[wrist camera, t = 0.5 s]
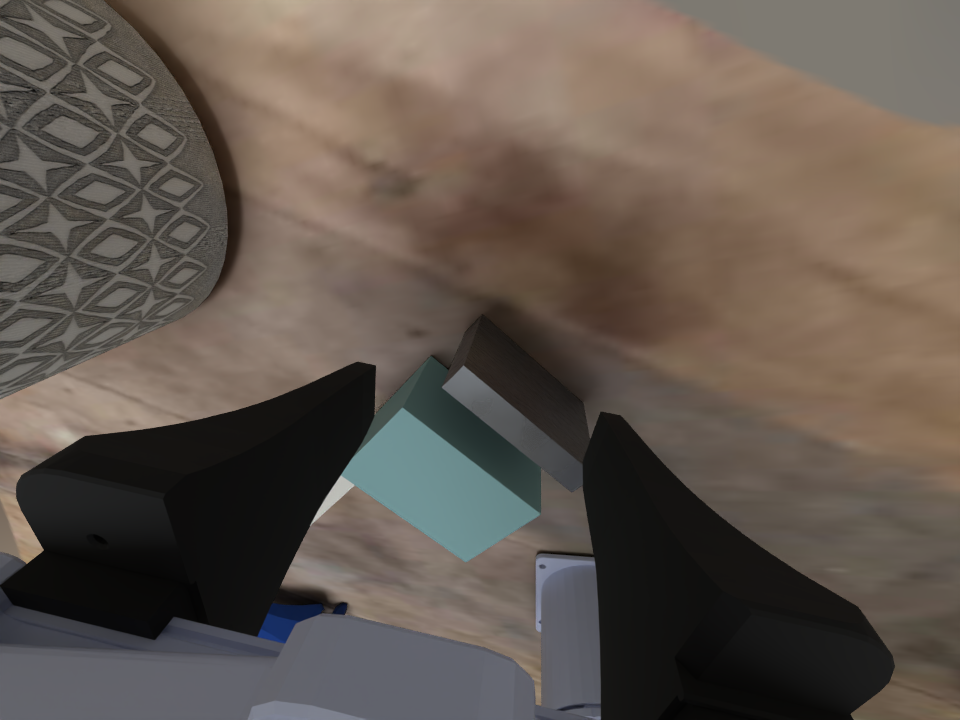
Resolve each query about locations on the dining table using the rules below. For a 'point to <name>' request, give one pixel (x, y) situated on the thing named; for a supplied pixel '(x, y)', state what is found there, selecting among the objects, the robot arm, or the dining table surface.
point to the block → (445, 468)
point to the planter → (96, 190)
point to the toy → (290, 619)
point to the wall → (520, 401)
